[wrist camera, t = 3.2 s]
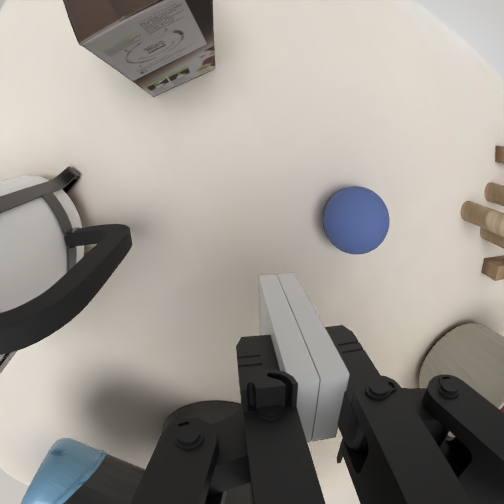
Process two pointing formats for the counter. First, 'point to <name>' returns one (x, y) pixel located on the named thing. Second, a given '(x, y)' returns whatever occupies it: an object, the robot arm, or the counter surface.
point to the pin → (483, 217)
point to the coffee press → (48, 259)
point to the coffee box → (148, 38)
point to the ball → (356, 220)
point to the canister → (469, 361)
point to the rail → (499, 265)
